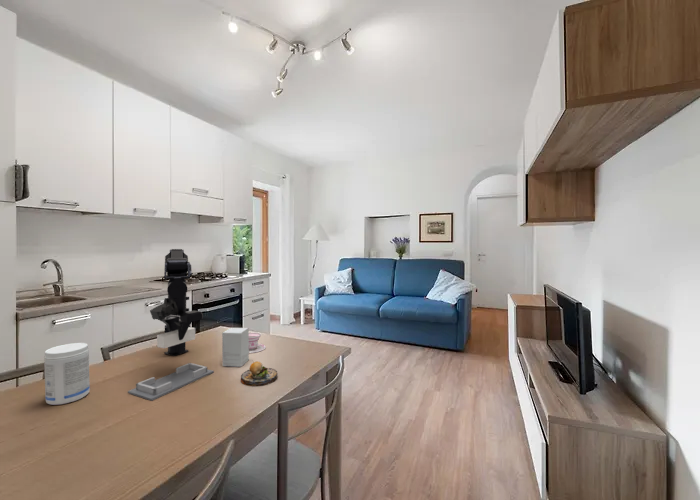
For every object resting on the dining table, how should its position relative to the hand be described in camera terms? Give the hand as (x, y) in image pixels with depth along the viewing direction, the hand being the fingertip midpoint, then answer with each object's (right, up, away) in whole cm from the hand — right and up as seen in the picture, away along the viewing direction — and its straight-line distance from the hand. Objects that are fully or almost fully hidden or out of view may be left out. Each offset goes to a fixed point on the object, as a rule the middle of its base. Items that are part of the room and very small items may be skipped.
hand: (177, 339), depth 109 cm
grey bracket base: (+3, -12, -8) cm, 14 cm away
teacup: (+18, -12, +25) cm, 33 cm away
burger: (+30, -12, -4) cm, 33 cm away
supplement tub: (-21, -12, -19) cm, 31 cm away
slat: (0, -1, 0) cm, 1 cm away
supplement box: (+17, -12, +9) cm, 23 cm away
